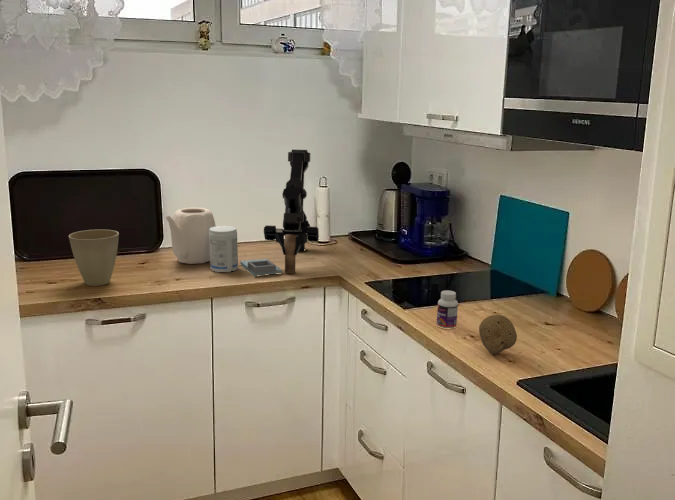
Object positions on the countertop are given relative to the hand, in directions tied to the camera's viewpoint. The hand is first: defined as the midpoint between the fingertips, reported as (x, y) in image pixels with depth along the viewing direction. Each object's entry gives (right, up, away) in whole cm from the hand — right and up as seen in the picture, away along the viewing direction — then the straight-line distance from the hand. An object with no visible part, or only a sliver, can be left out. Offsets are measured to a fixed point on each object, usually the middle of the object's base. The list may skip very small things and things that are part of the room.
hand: (289, 254), depth 231 cm
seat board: (-11, -5, +7) cm, 14 cm away
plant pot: (-61, -9, -13) cm, 63 cm away
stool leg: (0, -6, +3) cm, 7 cm away
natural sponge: (+55, -24, -63) cm, 87 cm away
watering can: (-36, -3, +15) cm, 39 cm away
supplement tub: (-23, -5, +6) cm, 25 cm away
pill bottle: (+46, -20, -45) cm, 67 cm away
